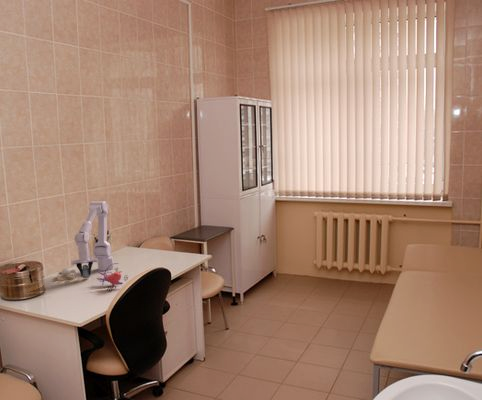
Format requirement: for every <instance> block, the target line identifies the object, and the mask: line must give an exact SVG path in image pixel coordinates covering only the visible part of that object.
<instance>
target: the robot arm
mask: <svg viewBox="0 0 482 400" xmlns="http://www.w3.org/2000/svg"><path fill="white" fill-rule="evenodd" d="M108 214H109V204H108V203H107V201H104V200H102V201H90V203H89V204H88V213H87V217H86V220H85V221H83V222H82V225H81V226H80V229H79V231H78V232H76V233H75V235H74V241H75V243H76V246H77V251H78V259H75V260H71V261H70V263H71V265H72V266H73V265H76V268H77V270H78V271H79V273H80V276H81V277H83V274H82V269H83V268H82V267H83V264H87V266H88V268H89V275H90V276H91V275H92V267H93V264H94V263H97V267H98V271H99V272H100V271H103V272H105V270H106V269H107V268H108V267H109V266H110V265H111V264H113V265H111V266H110V267H109V268H108V269H107V270H106V271H110V270H111V271H112V270H114V268H115V266H114V265H115V264H114V258H113V255H112V251H113V250H112V246H111V243H110V242H108V241H107V235H108V234H107V233H108V229H107V227H108V226H107V225H108V224H107V223H108V222H107V221H108ZM95 217H98V218H97V242H95V244H94V246H93V250H92V251H93V255H94V256H95V258H90V251H89V241H90V233H91V231H92V228H93V222H94V220H95Z"/></svg>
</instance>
